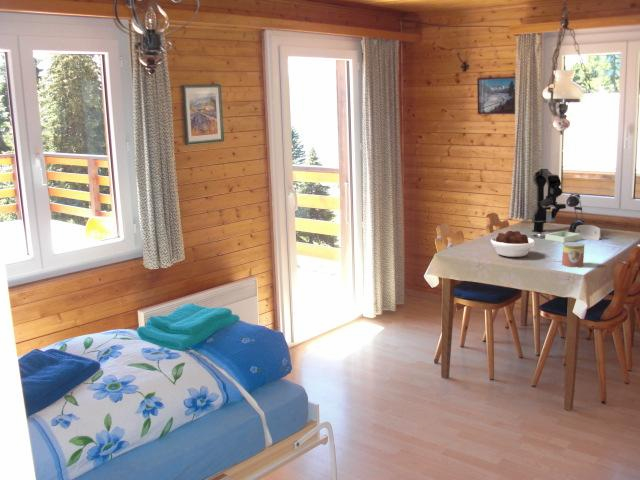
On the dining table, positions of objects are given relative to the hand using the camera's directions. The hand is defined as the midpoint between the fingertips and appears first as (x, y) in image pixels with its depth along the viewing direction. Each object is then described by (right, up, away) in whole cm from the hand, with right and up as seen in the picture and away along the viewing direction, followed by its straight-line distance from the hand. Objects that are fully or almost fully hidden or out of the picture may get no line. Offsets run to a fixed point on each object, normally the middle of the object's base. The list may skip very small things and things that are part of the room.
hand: (550, 218), depth 473 cm
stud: (-4, -12, +8) cm, 15 cm away
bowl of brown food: (-37, -24, -45) cm, 63 cm away
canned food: (-10, -28, -70) cm, 76 cm away
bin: (+7, -14, -4) cm, 16 cm away
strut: (0, -2, 0) cm, 2 cm away
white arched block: (+24, -14, +2) cm, 28 cm away
